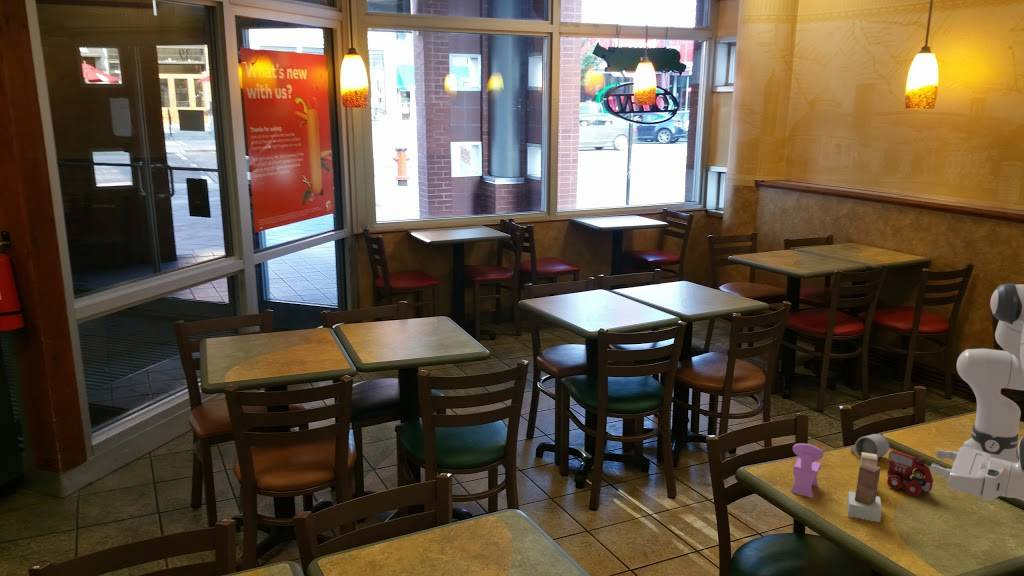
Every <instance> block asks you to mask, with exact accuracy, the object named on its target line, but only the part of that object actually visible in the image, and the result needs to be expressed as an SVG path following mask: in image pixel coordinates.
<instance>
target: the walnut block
mask: <svg viewBox="0 0 1024 576" xmlns="http://www.w3.org/2000/svg"><path fill="white" fill-rule="evenodd" d="M858 469H859V470H858V476H857V482H856V483H857V484H856V490H855V492H856V495H855V500H856V501H858V502H861V503H863V504H866V505H869V506H870V505H871V504H872V503H873V502H875V500H876V496H877V493H878V488H879V482H880V474H881V470H882V469H881V467H880V466H878V465H877V466H875V465H872V464H869V463H866V462H865V463H864V464H863V465H862V466H860V465H859V468H858Z"/></svg>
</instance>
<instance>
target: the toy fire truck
mask: <svg viewBox="0 0 1024 576" xmlns="http://www.w3.org/2000/svg"><path fill="white" fill-rule="evenodd" d="M888 460H889V464H888V469H887V475H886V476H887V481H886V483H887V485H888V487H889V488H890V489H892V490H900V489H901V488H902V487H903V486H904V485H905V492H907V494H908V495H910V496H912V497H917V496H919V495H920V494H921V493H922V491H924V492H926V493H929V492H930V491H932V489H933V483H934V479H933V475H932V472H931V471H930V468H929V466H928V465H926V460H925V459H924V458H921V457H919V458H918V459H917V458H916V457H915V456H913V455H910V454H907V453H903V452H900V451H897V450H894V449H892V450H891V451H889V453H888Z"/></svg>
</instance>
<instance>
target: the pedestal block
mask: <svg viewBox="0 0 1024 576" xmlns="http://www.w3.org/2000/svg"><path fill="white" fill-rule="evenodd" d="M855 495H856V491H852V490H851V491H850V490H849V491H848V492H847V500H846V508H847V509H846V510H847V517H849V518H853V517H855V519H858V518H861V519H860V520H864V519H865V521H869V520H870V521H869V522H874V521H877V522H876V523H879V522H880V523H881V520H882V512H883V508H882V507H883V506H882V501H881V496H879V495H878V496H877V495H876V500H875V502H873V503H872V504H871V505H870V506H869V505H866V504H863V503H861V502H858V501H856V500H855Z"/></svg>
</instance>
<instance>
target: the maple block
mask: <svg viewBox="0 0 1024 576" xmlns="http://www.w3.org/2000/svg"><path fill="white" fill-rule="evenodd" d="M878 459H879V458H877V454H870V453H864V452H862V454H861V458H860V461H859V463H860V464H859V467H860V466H862V465H863V464H864V463H865V462H866V463H869V464H872V465H875V466H878Z"/></svg>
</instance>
